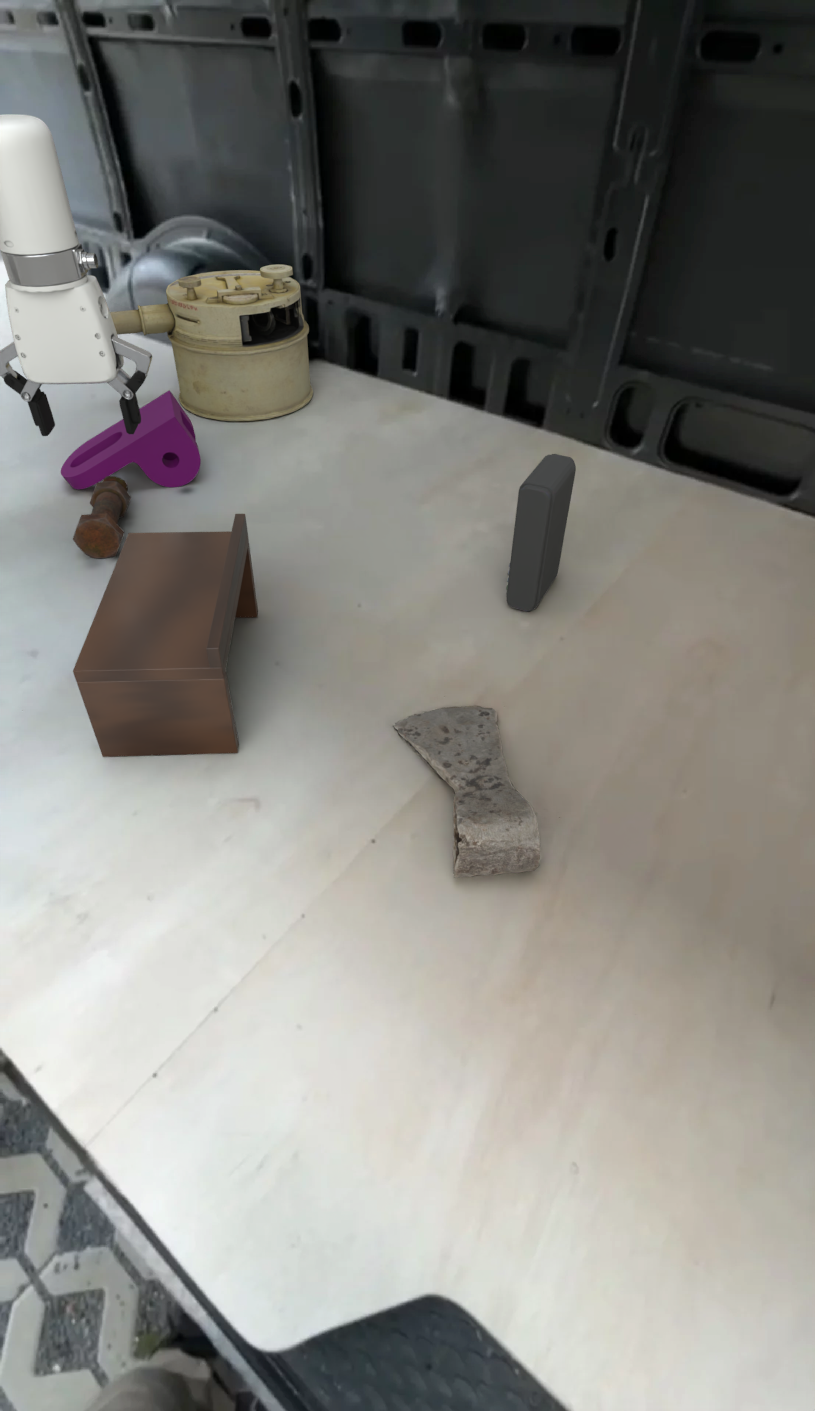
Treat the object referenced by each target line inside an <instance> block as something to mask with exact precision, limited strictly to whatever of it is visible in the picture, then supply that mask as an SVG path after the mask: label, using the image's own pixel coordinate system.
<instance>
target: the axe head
mask: <svg viewBox="0 0 815 1411" xmlns="http://www.w3.org/2000/svg"><path fill="white" fill-rule="evenodd" d="M497 723H498V716H497V711H496V710H495V708H493V707H484V706H482V705H481V706H480V705H465V706H446V707H441V708H435V709H433V710H429V711H424V712H422V713H414V714H412V715H409V716H407V717H406V718H404V719H403V720H400V721H396V722H394V724H393V727H394V728H395V730H397V733H398V734H399V735H400V736H401V737H402V738H403V739H404V740H406V741H408V742H409V744H410V745H411V747H413V748H414V749H415V750H416V751H417V752H418V754H420V756H421V757H422V758H423V760H425V761H426V762H428V764H429V766H430V767H431V768H432V769H434V770H435V772H436V773H437V774H438V775H439V776H440V777H441V779H443V781H445V783H447V784H448V786H449V787H451V789H453V792H454V796H453V804H452V805H453V806H452V807H453V808H452V809H453V811H452V820H453V823H452V824H453V825H452V826H453V843H452V859H453V865H452V866H453V870H452V874H453V877H455V878H462V877H466V878H467V877H470V878H471V877H472V878H473V877H475V876H479V875H480V876H495V875H501V874H515V873H516V874H519V873H525V872H531V871H533V872H535V870H536V869H538V867H539V866H540V859H541V838H540V834H539V828H538V822H537V816H536V814H535V811H534V809H533V807H532V805H531V804H530V803H529V802H528V801H527V800H526V798H524V797H523V796H522V794H521V793H519V791H517V790H516V789H515V787H514V786H513V784H512V782H511V780H510V776H509V775H508V768H507V765H506V759H505V758H504V753H503V745H502V739H501V734H500V731H499V726H498V725H497Z"/></svg>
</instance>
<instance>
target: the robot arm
mask: <svg viewBox="0 0 815 1411" xmlns="http://www.w3.org/2000/svg"><path fill="white" fill-rule="evenodd" d="M66 188H67V187H66V183H65V181H64V177H63V173H62V168H61V163H60V159H59V156H58V152H57V148H56V144H55V141H54V138H53V133H52V132H51V130H50V128H49V126H48V125H47V124H46V123H45V122H44V120H43V119H41V118H39V117H37V116H34V115H30V114H19V113H18V114H17V113H15V114H14V113H13V114H11V113H9V114H0V255H1V258H2V260H3V264H4V267H5V270H6V274H7V277H8V280H7V282H6V283H5V284H4V290H5V300H6V305H7V306H6V308H7V313H8V320H9V325H10V330H11V335H12V339H13V341H12V342H11V343H9V344H7V345H6V346H4V347H3V348H2V349H0V377H1V378H2V379H3V382H4V384H5V386H8V387H9V388H10V389H12V390H13V391H14V392H16V393H17V394H19V395H20V398H21V399H22V400H23V401H24V402H27V405H28V408H29V411H30V414H31V418H32V420H33V423H34V425H35V426H36V427H38V428H39V429H38V430H39V431H40V434H41V436H42V437H48V436H50V435H51V433H52V432H53V429H55V427H56V422H55V419H54V416H53V412H52V409H51V406H50V403H49V400H48V396H47V394H46V393H45V391H42V390H41V387H42V385H89V384H91V385H92V384H93V385H94V384H96V385H97V384H106V383H107V384H108V385H109V386H110V387H112V389H114V390H115V391H116V392H117V393H118V394H119V395H120V396H121V397H120V399H119V402H118V403H119V408H120V411H121V416H122V419H123V420H124V424H125V428H126V432H127V433H128V434H134V432H135V430H136V428H137V426H138V424H140V423H141V414H140V410H139V409H140V407H139V402H138V397H137V393H138V391H139V389H140V388H141V387H142V385H143V384H144V382H145V381H146V379H147V378H148V373H149V371H150V367H151V364H152V360H153V355H152V353H151V352H150V351H148V350H146V349H144V348H141V347H139V346H137V345H136V344H133V343H131V342H128V341H126V340H124V339H122V338H120V337H119V334H118V335H117V332H116V329H115V326H114V323H113V320H112V317H111V314H110V312H111V311H110V308H109V306H108V302H107V300H106V297H105V295H104V293H103V290H102V288H101V285H100V283H99V281H98V279H97V277H96V276H95V275H91V274H89V275H88V274H87V273H88V272H89V271H90V270H91V269H98V268H99V260H98V256H97V254H96V253H95V252H88V251H85V250H84V248H83V245H82V243H80V242H79V237H78V233H77V229H76V226H75V222H74V217H73V213H72V210H71V205H70V200H69V197H68V192H67V189H66ZM16 358H18V361H19V365H20V367H21V371H22V372H23V375H24V376H23V375H22V374H21V373H19V372H18V371H16V370H15V369H13V367H12V365H11V364H10V362H11V361H12V360H14V359H16ZM124 358H125V359H128V360H131V361H132V362H134V363H135V365H136V366H135V371H134V373H133V375H132V376H131V375H129V374H128V373H127V372H126V371H125V370H124V369H123V367H124V365H125V364H124V363H125V360H124Z"/></svg>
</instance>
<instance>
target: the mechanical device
mask: <svg viewBox="0 0 815 1411" xmlns="http://www.w3.org/2000/svg"><path fill="white" fill-rule="evenodd" d="M293 270H294V269H293V266H291V265H287V264H279V263H278V264H269V265H265V266H261V267H260V269H259V270H248V269H246V270H245V269H238V270H235V269H234V270H233V269H232V270H217V271H208V272H207V271H206V272H200V273H196V274H192V275H188V276H182V277H180V278H178V279H176V280H174V281H173V282H171V283H170V284H168V285H167V287H166V289H165V295H166V301H167V303H160V304H159V303H157V304H147V305H140V304H137V309H130V310H117V311H110V314H111V317H112V320H113V323H114V326H115V329H116V332H117V335H118V336H119V335H130V334H139V333H143V335H144V336H147V335H153V334H154V335H155V334H156V335H157V334H165V333H166V334H167V338H168V340H169V341H170V342H171V348H172V353H173V359H174V365H175V369H176V371H175V372H176V377H177V382H178V388H179V394H178V400H179V404H180V406H181V407H182V408H184V410H186V411H188V412H189V413H191V414H193V415H196V416H199V417H202V418H206V419H210V420H217V421H227V422H255V421H262V420H270V419H274V418H279V417H282V416H285V415H289V414H291V413H295V412H297V411H298V410H301V409H303V407H305V406H306V405H307V404H308V403H309V402H310V401H311V399H312V398H313V395H314V390H313V387H312V385H311V377H310V376H311V375H310V374H311V373H310V362H309V361H310V360H309V347H308V346H309V345H308V343H309V342H308V334H309V332H310V326H309V324H308V323H307V321H306V320H305V315H304V314H303V306H302V294H301V285H300V283H299V282H298V281H297V280H296V279H294V278H292V277H291V276H294V271H293Z"/></svg>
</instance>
